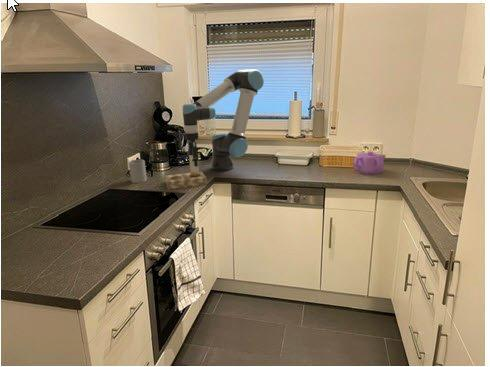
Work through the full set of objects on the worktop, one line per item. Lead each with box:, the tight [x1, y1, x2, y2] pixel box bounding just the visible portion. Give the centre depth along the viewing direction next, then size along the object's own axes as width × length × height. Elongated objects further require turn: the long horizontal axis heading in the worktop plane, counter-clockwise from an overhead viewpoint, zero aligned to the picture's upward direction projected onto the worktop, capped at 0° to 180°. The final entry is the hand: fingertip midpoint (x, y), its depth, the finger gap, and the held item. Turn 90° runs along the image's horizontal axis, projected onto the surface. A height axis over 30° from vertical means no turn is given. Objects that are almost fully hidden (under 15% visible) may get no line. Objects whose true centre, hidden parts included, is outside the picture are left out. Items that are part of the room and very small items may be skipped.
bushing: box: [189, 161, 199, 178], centre depth 203 cm, size 4×4×12 cm
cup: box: [128, 159, 148, 184], centre depth 210 cm, size 9×9×12 cm
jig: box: [164, 171, 208, 190], centre depth 203 cm, size 22×14×4 cm, turn 107°
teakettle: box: [353, 151, 387, 176], centre depth 213 cm, size 17×17×12 cm
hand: (194, 168), depth 203 cm, fingers open, 13 cm apart
